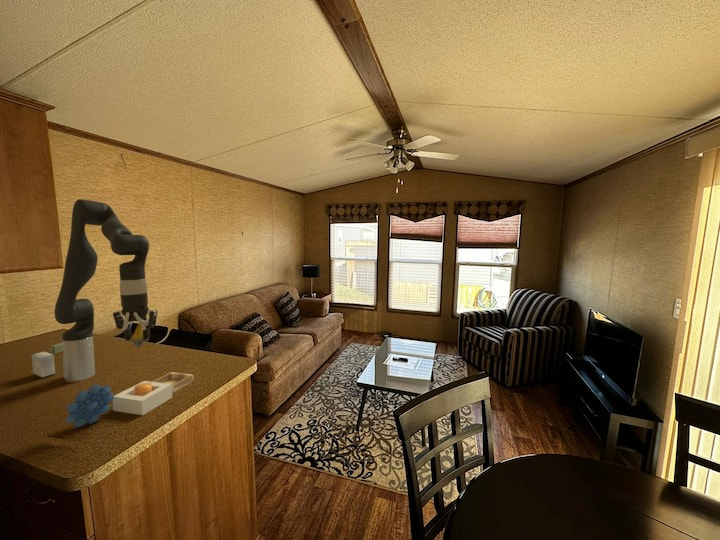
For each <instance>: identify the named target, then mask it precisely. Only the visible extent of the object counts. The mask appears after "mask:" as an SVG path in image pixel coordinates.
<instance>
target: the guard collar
mask: <svg viewBox="0 0 720 540" xmlns="http://www.w3.org/2000/svg"><path fill="white" fill-rule="evenodd" d="M143 383H151V384H152V391H151V392H150V393H148V394H146V395H144V396H137V395H135V390H134V388H135V386H137V385H139V384H143ZM172 398H173V394H172V384H165V383H157V382H152V381H150V380H144V381H141V382H138V384H135V385H134V386H132V387H128V388H127V389H125V390H122V391H120V392H119V393H117V394H115V395H114V398H113V400H112V410H113V411H114V412H119V413H125V414H133V415H138V416H144V415H146V414H148V413H149V412H151V411H153V410H154V409H156V408H157V407H159V406H161V405H162V404H164V403H166V402H168V400H170V399H172Z"/></svg>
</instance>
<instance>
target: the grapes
mask: <svg viewBox="0 0 720 540" xmlns="http://www.w3.org/2000/svg"><path fill="white" fill-rule="evenodd" d="M111 389H112V388H111V386H109V385H104V386H102V387H101V385H100V384H93V385H91V387H90V388H89V389H88V390H81V391H80V392H78V393H77V394H76V396H75V400H74V401H72V402H70V403H69V404H68V405H67V408H66V412H67V413H69V414H68V415H67V416H66V420H65V421H66V423H67V424H72V423H73V424H74V427H75V428H81V427H83V426H85V425H86V424H87V423H88V424H94V423H96V422H97V421H99V418H100V415H104V414H107V412H108V411H109V409H110V407H111V405H110V404H109V403H111V402H113V398H114V396H115V395H114V393H112V392H111Z"/></svg>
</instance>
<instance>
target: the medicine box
mask: <svg viewBox="0 0 720 540" xmlns="http://www.w3.org/2000/svg"><path fill="white" fill-rule="evenodd" d="M31 364H32V373H33V374H34V375H36V376H37V377H40V378H45V377H48V376H51V375H55V374H56V370H55V369H56V368H55V367H56V366H55V357H54V354H50V352H47V351H41V352H37V353H34V354H31Z"/></svg>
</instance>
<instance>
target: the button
mask: <svg viewBox="0 0 720 540" xmlns="http://www.w3.org/2000/svg"><path fill="white" fill-rule="evenodd" d="M138 384H139V383H138ZM136 385H137V384H136ZM134 386H135V385H134ZM134 390H135V395H137V396H144V395H146V394H148V393H150V392H151V391H152V384H151V383H143V384H139V385H137V386H135V388H134Z"/></svg>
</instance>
